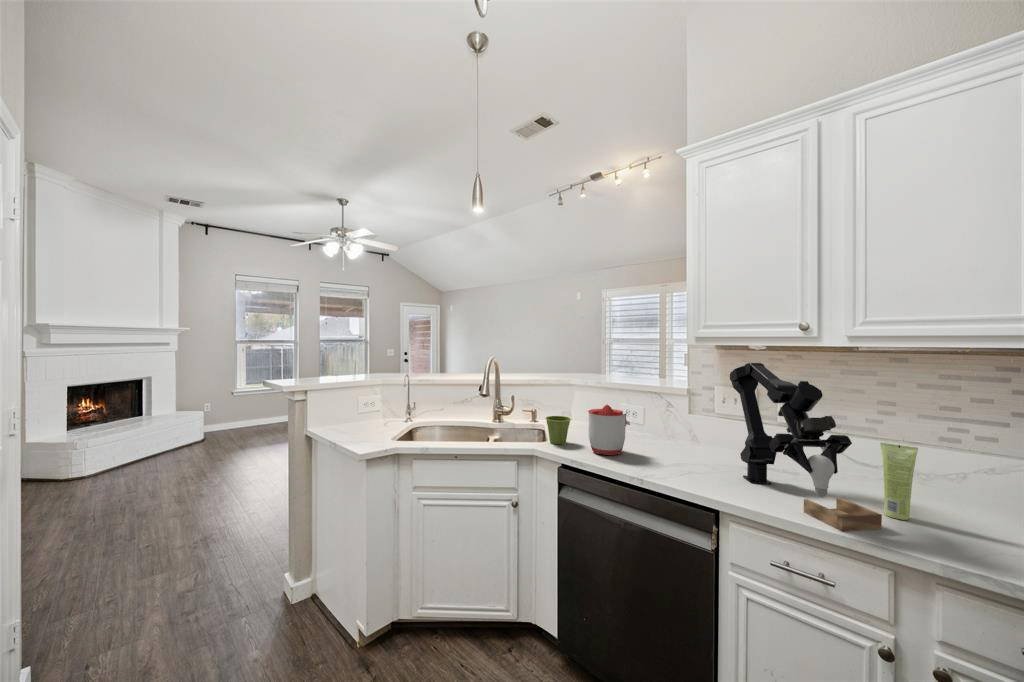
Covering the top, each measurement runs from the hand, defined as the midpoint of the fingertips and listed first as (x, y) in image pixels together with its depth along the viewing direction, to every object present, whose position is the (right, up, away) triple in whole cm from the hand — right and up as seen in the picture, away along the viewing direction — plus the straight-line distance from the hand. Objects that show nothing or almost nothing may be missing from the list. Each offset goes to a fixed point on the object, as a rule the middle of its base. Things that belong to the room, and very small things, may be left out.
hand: (823, 472), depth 108 cm
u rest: (+6, -13, +2) cm, 15 cm away
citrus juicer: (-40, -13, +67) cm, 79 cm away
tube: (+24, -14, +5) cm, 28 cm away
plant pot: (-60, -12, +82) cm, 102 cm away
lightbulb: (+1, -7, +1) cm, 7 cm away
